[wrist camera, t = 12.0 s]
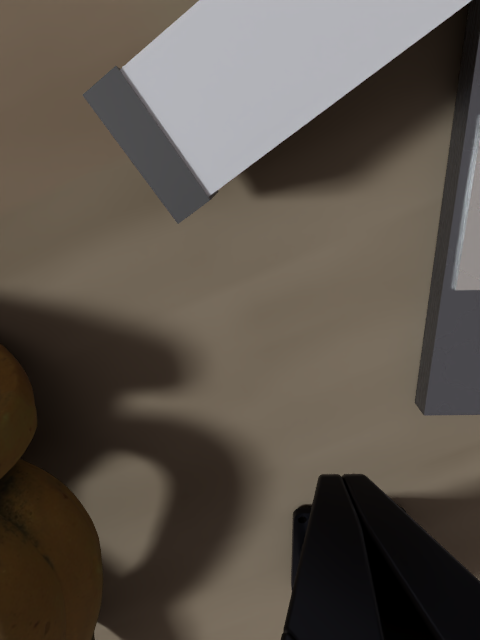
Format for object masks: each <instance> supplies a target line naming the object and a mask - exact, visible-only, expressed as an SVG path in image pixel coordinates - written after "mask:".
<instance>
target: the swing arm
mask: <svg viewBox="0 0 480 640" xmlns="http://www.w3.org/2000/svg"><path fill="white" fill-rule="evenodd" d="M470 1H472V0H199V1H198V2H197V3H196V4H195V5H194V6H192V7H191V8H190V9H189V10H188V11H187V12H186V13H184V14H183V15H182V16H181V17H180V18H179V19H177V20H176V21H175V22H174V23H173V24H172V25H171V26H169V27H168V28H167V29H166V30H165V31H164V32H163V33H161V34H160V35H159V36H158V37H157V38H156V39H155V40H153V41H152V42H151V43H150V44H149V45H148V46H146V47H145V48H144V49H143V50H142V51H141V52H140V53H138V54H137V55H136V56H135V57H134V58H133V59H132V60H130V61H129V62H128V63H127V64H126V65H125V66H123V67H122V68H121V69H120V68H118V67H117V66H115V67H114V68H113V69H112V70H110V71H109V72H108V73H107V74H106V75H105V76H104V77H102V78H101V79H100V80H99V81H98V82H97V83H96V84H94V85H93V86H92V87H91V88H90V89H89V90H88V91H86V92H85V93H84V94H83V96H84V98H85V99H86V100H87V102H88V103H89V104H90V106H91V107H92V109H93V110H94V111H95V113H96V114H97V115H98V117H99V118H100V119H101V121H102V122H103V123H104V125H105V126H106V127H107V129H108V130H109V131H110V133H111V134H112V136H113V137H114V138H115V140H116V141H117V142H118V144H119V145H120V146H121V148H122V149H123V150H124V152H125V153H126V154H127V156H128V157H129V158H130V160H131V161H132V163H133V164H134V165H135V167H136V168H137V169H138V171H139V172H140V173H141V175H142V176H143V177H144V179H145V180H146V181H147V183H148V184H149V185H150V187H151V188H152V190H153V191H154V192H155V194H156V195H157V196H158V198H159V199H160V200H161V202H162V203H163V204H164V206H165V207H166V208H167V210H168V211H169V212H170V214H171V215H172V217H173V218H174V219H175V221H176V222H177V223H178V224H179V223H180V222H181V221H183V220H184V219H185V218H187V217H188V216H189V215H191V214H192V213H193V212H195V211H196V210H197V209H199V208H200V207H201V206H203V205H204V204H205V203H207V202H208V201H209V200H211V199H212V198H213V197H214V196H215V195H216V194H217V193H218V192H219V191H218V189H220V188H221V187H222V186H224V185H225V184H226V183H228V182H229V181H230V180H232V179H233V178H234V177H236V176H237V175H238V174H240V173H241V172H242V171H244V170H245V169H246V168H248V167H249V166H250V165H252V164H253V163H254V162H256V161H257V160H258V159H260V158H261V157H262V156H264V155H265V154H267V153H268V152H269V151H271V150H272V149H273V148H275V147H276V146H277V145H279V144H280V143H281V142H283V141H284V140H285V139H287V138H288V137H289V136H291V135H292V134H293V133H295V132H296V131H297V130H299V129H300V128H301V127H303V126H304V125H305V124H307V123H308V122H309V121H311V120H312V119H313V118H315V117H316V116H317V115H319V114H320V113H321V112H323V111H324V110H326V109H327V108H328V107H330V106H331V105H332V104H334V103H335V102H336V101H338V100H339V99H340V98H342V97H343V96H344V95H346V94H347V93H348V92H350V91H351V90H352V89H354V88H355V87H356V86H358V85H359V84H360V83H362V82H363V81H364V80H366V79H367V78H368V77H370V76H371V75H372V74H374V73H375V72H376V71H378V70H379V69H380V68H382V67H383V66H385V65H386V64H387V63H389V62H390V61H391V60H393V59H394V58H395V57H397V56H398V55H399V54H401V53H402V52H403V51H405V50H406V49H407V48H409V47H410V46H411V45H413V44H414V43H415V42H417V41H418V40H419V39H421V38H422V37H423V36H425V35H426V34H427V33H429V32H430V31H431V30H433V29H434V28H435V27H437V26H438V25H439V24H441V23H442V22H444V21H445V20H446V19H448V18H449V17H450V16H452V15H453V14H454V13H456V12H457V11H458V10H460V9H461V8H462V7H464V6H465V5H466V4H468V3H469V2H470Z"/></svg>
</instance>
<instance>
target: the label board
mask: <svg viewBox="0 0 480 640" xmlns="http://www.w3.org/2000/svg"><path fill="white" fill-rule="evenodd" d="M415 404H416V405H417V406H418V408H419V409H420V411H421V412H422V413H423V415H480V0H472V1H470V2H469V9H468V16H467V23H466V31H465V38H464V45H463V53H462V60H461V67H460V75H459V82H458V89H457V97H456V104H455V111H454V119H453V126H452V133H451V141H450V148H449V155H448V163H447V170H446V177H445V185H444V192H443V199H442V207H441V214H440V221H439V229H438V236H437V243H436V251H435V258H434V265H433V273H432V280H431V287H430V295H429V302H428V309H427V317H426V324H425V331H424V339H423V346H422V353H421V361H420V368H419V375H418V383H417V390H416V397H415Z"/></svg>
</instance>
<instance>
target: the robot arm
mask: <svg viewBox="0 0 480 640" xmlns="http://www.w3.org/2000/svg"><path fill="white" fill-rule="evenodd" d="M302 516H303V517H304V518H299V517H302ZM291 587H292V595H291V599H290V603H289V608H288V612H287V616H286V621H285V625H284V633H283V634H282V637H281V640H480V581H479V580H478V579H477V578H476V577H475V576H474V575H472V574H471V573H470V572H469V571H468V570H467V569H466V568H465V567H464V566H463V565H462V564H461V563H460V562H458V561H457V560H456V559H455V558H454V557H453V556H452V555H451V554H450V553H449V552H448V551H447V550H445V549H444V548H443V547H442V546H441V545H440V544H439V543H438V542H437V541H436V540H435V539H434V538H432V537H431V536H430V535H429V534H428V533H427V532H426V531H425V530H424V529H423V528H422V527H421V526H419V525H418V524H417V523H416V522H415V521H414V520H413V519H412V518H411V517H410V516H409V515H408V514H407V513H406V512H405V510H404V509H403V508H401V507H399V506H398V505H397V504H396V503H395V502H394V501H392V500H391V499H390V498H389V497H388V496H387V495H386V494H385V493H384V492H383V491H382V490H381V489H379V488H378V487H377V486H376V485H375V484H374V483H373V482H372V481H371V480H370V479H369V478H368V477H366V476H365V475H363V474H344V475H343V476H342V477H341V476H340V475H339V474H322V475H320V476H319V478H318V482H317V487H316V491H315V495H314V500H313V504H312V508H298V509H296V510H295V511H294V512H293V529H292V569H291Z"/></svg>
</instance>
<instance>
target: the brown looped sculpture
mask: <svg viewBox="0 0 480 640" xmlns="http://www.w3.org/2000/svg"><path fill="white" fill-rule="evenodd" d="M36 428H37V411H36V407H35V401H34V394H33V390H32V386H31V383H30V381H29V379H28V377H27V374H26V373H25V371H24V369H23V368H22V366H21V365H20V363H19V362H18V361H17V360H16V358H15V357H14V356H13V355H12V354H11V353H10V352H9V351H8V350H7V349H6V348H5V347H4V346H3V345H2V344H0V640H95V639H94V630H95V626H96V623H97V620H98V616H99V612H100V607H101V601H102V592H103V569H102V558H101V549H100V543H99V537H98V534H97V532H96V529H95V526H94V524H93V522H92V520H91V518H90V516H89V514H88V513H87V511H86V510H85V508H84V507H83V505H82V504H81V503H80V501H79V500H78V499H77V497H76V496H75V495H74V494H73V493H72V492H71V491H70V490H69V489H68V488H67V487H66V486H65V485H64V484H63V483H62V482H61V481H59V480H58V479H56V478H55V477H54V476H52V475H51V474H49V473H48V472H46V471H44V470H43V469H41V468H39V467H37V466H35V465H33V464H31V463H28V462H26V461H24V460H21V459H20V458H21V456H22V455H23V453H24V452H25V450H26V449H27V447H28V445H29V443H30V442H31V440H32V438H33V436H34V433H35V431H36Z"/></svg>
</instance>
